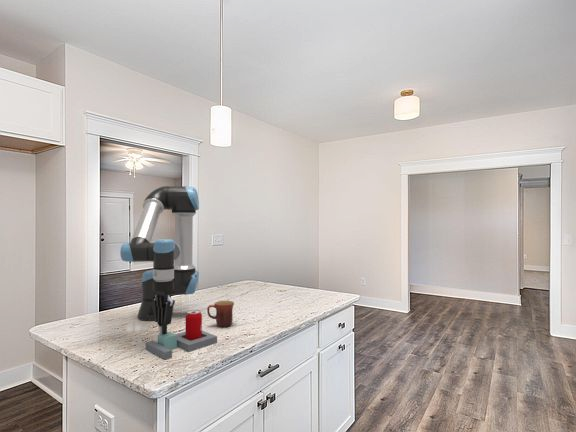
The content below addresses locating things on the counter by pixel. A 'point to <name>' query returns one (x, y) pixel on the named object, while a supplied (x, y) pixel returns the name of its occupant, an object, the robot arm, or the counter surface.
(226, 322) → the mug
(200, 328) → the beverage can
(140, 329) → the counter surface
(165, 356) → the grey flat pieces
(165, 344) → the teal cube block
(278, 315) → the counter surface
